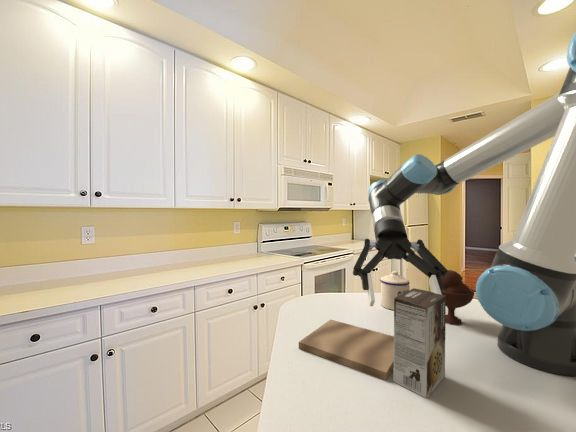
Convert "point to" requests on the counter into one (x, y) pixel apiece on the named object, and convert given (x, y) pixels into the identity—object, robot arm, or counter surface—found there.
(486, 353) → the counter surface
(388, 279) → the teacup with lid
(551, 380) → the counter surface
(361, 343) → the walnut board
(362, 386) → the counter surface
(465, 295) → the ice cream bowl
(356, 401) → the counter surface
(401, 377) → the coffee box
